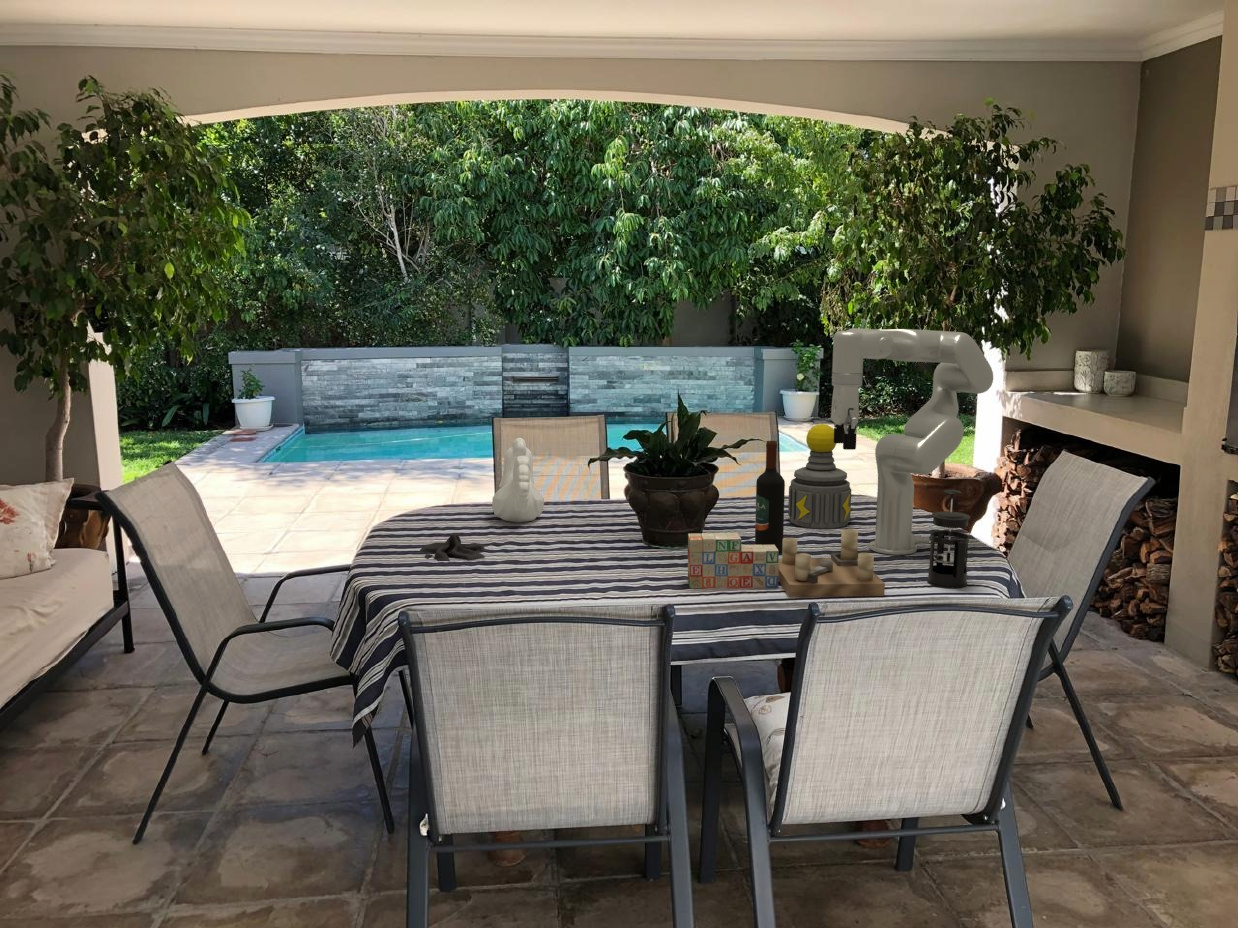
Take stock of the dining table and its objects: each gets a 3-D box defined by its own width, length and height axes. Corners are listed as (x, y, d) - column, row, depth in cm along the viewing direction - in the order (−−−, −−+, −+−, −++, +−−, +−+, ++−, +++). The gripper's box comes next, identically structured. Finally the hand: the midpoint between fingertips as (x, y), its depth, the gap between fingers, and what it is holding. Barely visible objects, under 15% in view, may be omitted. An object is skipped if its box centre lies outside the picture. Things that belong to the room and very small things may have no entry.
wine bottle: (782, 555, 283) (785, 444, 277) (753, 553, 284) (756, 443, 279) (783, 547, 290) (786, 439, 284) (755, 546, 291) (758, 438, 286)
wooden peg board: (859, 569, 269) (860, 534, 268) (884, 595, 247) (886, 558, 246) (771, 570, 268) (772, 535, 267) (789, 597, 246) (790, 559, 245)
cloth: (419, 546, 293) (418, 525, 292) (486, 545, 295) (486, 523, 294) (414, 569, 271) (413, 545, 270) (487, 566, 274) (486, 543, 273)
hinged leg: (823, 566, 260) (823, 544, 259) (836, 569, 257) (836, 546, 256) (791, 578, 249) (792, 555, 248) (804, 581, 247) (805, 558, 246)
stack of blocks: (774, 581, 260) (775, 532, 257) (778, 588, 254) (779, 538, 251) (687, 581, 259) (687, 532, 257) (689, 588, 253) (689, 538, 251)
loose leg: (854, 559, 267) (855, 528, 266) (858, 564, 263) (859, 532, 262) (838, 559, 267) (839, 528, 265) (842, 564, 263) (843, 532, 261)
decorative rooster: (496, 512, 332) (494, 434, 328) (546, 512, 332) (545, 434, 327) (484, 532, 307) (482, 447, 303) (538, 532, 307) (537, 447, 303)
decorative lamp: (862, 521, 320) (866, 423, 315) (830, 533, 306) (834, 430, 301) (808, 512, 332) (811, 417, 327) (775, 522, 319) (777, 424, 313)
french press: (919, 577, 262) (923, 486, 258) (954, 575, 264) (959, 485, 259) (941, 591, 251) (946, 496, 246) (977, 589, 252) (984, 495, 248)
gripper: (824, 376, 278) (822, 440, 281) (840, 383, 261) (838, 452, 264) (852, 376, 278) (850, 440, 281) (871, 383, 261) (868, 451, 264)
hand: (844, 446), depth 272 cm, fingers open, 9 cm apart
